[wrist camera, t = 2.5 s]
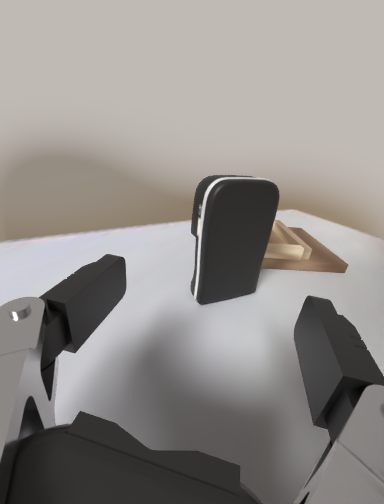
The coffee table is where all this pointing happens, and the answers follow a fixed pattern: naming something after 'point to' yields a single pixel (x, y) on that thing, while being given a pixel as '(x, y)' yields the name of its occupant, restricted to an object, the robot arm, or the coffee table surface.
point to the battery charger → (231, 234)
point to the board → (299, 251)
